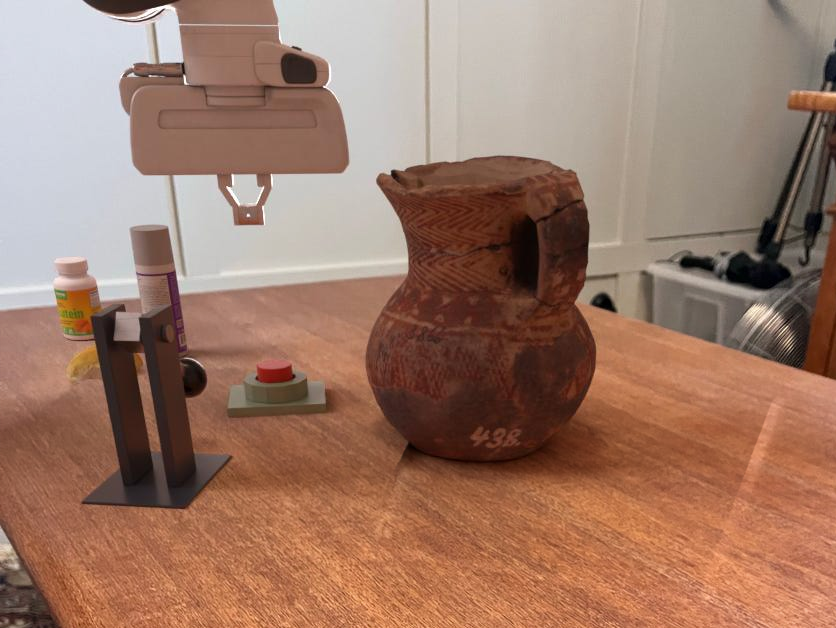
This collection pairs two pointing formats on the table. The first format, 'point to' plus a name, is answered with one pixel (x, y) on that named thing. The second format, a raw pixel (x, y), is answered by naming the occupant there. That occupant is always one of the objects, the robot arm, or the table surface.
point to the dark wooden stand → (139, 466)
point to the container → (158, 274)
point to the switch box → (276, 396)
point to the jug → (485, 308)
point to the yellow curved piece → (89, 366)
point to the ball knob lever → (131, 341)
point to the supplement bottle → (76, 297)
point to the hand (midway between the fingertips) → (249, 224)
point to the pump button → (274, 371)
